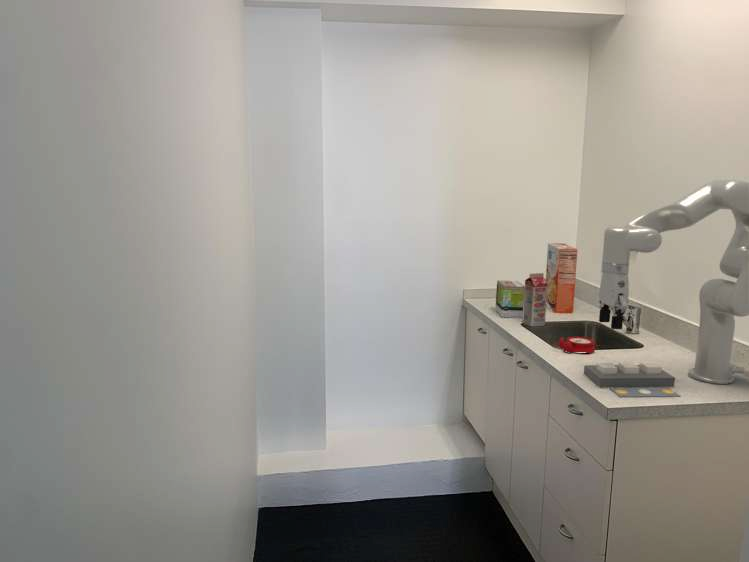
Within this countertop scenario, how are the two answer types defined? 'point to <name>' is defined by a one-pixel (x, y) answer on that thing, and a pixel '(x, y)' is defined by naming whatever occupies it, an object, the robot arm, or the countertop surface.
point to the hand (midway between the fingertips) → (610, 325)
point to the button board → (628, 378)
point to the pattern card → (644, 392)
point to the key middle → (628, 368)
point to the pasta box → (561, 277)
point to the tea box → (510, 299)
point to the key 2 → (650, 368)
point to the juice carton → (535, 300)
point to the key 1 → (606, 368)
